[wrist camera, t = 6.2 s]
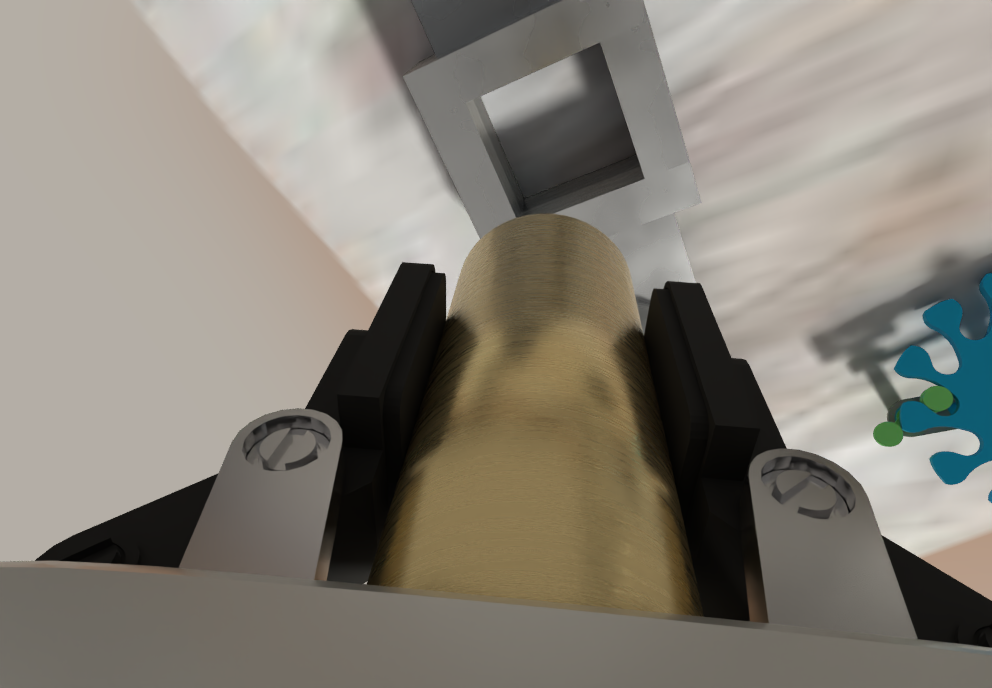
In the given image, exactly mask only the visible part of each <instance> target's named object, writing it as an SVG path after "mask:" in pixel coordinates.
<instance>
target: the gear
mask: <svg viewBox="0 0 992 688" xmlns="http://www.w3.org/2000/svg"><path fill="white" fill-rule="evenodd" d="M979 289H980V292H981V294H982V295H983V297H984V298H985V300H986V302H987V304H988V307H989V311H990V321H989V326H988V329H987V333H986V335H985V337H984V338H982V339H980V340H970V339H968V338H966V337H964V336H963V335H962V334H961V332H960V329H959V326H960V322H961V319H962V314H963V311H962V307H961V305H960V304H959V303H958V302H957V301H956V300H954V299H949V300H945V301H942V302H940V303H938V304H936V305H934V306H932V307H931V308H929V309H928V310H926V311H925V312H924V314H923V320H924V323H925V324H926V325H927V326H928V327H929V328H931V329H933V330H935V331H937V332H938V333H940V334H941V335H943V336H944V337H945V338H946V339H947V340H948V341H949V342H950V344H951V345H952V347H953V349H954V351H955V353H956V356H957V358H958V361H959V368H958V370H957V371H956V373H954V374H948V375H946V374H941V373H939V372H938V371H936V370H935V369H934V367H933V365H932V362H931V359H930V357H929V355H928V353H927V352H926V351H925V350H924V349H923V348H921V347H918V346H912V345H911V346H910V347H908V348H907V349H906V350H905V351H904V352H903V353H902V355H901V357H900V358H899V360H898V361H897V363H896V366H895V368H894V370H895V371H896V373H898V374H899V375H900V376H903V377H906V378H917V379H922V380H926V381H929V382H932V383H934V384H936V385H938V386H933V387H930V388H928V389H927V390H925V391H924V392H923V393H922V394H921V396H920V397H915V398H910V399H904V400H900V401H898V402H896V403H895V404H894V405H892V407H891V408H890V409H889V411H888V414H887V421H888V422H883V423H881V424H879V425H877V426H876V427H875V429H874V432H873V436H874V439H875V440H876V442H877V443H879V444H880V445H882V446H888V447H891V446H896V445H898V444H899V443H900V442H901V441H902V439H903V436H906V437H915V436H921V435H926V434H932V433H937V432H943V431H948V430H954V429H962V430H965V431H969V432H972V433H973V434H975V435H976V436H977V437H978V439H979V441H980V447H979V450H978V451H977V452H976V453H975V454H973V455H969V456H965V455H961V454H957V453H954V452H938V453H935V454H934V455H932V456H931V457H930V463H931V465H932V467H933V469H934V471H935V472H936V474H937V475H938V476H939V477H940V479H941V480H942V481H943V482H944V483H945V484H950V485H953V484H958V483H960V482H962V481H963V480H965V479H966V477H967V476H968V475H969V473H970V472H972V471H973V470H974V469H975V468H976V467H978V466H980V465H981V464H984V463H986V462H988V461H992V273H988V274H986V275H985V276H984V277H983V279H982V280H981V282H980V285H979ZM988 500H989V501H990V502H991V503H992V490H991V492H990V493H989V496H988Z"/></svg>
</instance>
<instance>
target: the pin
mask: <svg viewBox="0 0 992 688" xmlns="http://www.w3.org/2000/svg"><path fill="white" fill-rule="evenodd" d="M367 585H377V586H388V587H399V588H410V589H421V590H432V591H443V592H453V593H464V594H474V595H485V596H495V597H506V598H516V599H527V600H537V601H548V602H558V603H568V604H578V605H589V606H599V607H609V608H620V609H630V610H640V611H651V612H661V613H671V614H681V615H691V616H700V617H704V615H703V610H702V606H701V601H700V596H699V592H698V587H697V582H696V578H695V573H694V568H693V564H692V559H691V554H690V550H689V545H688V540H687V536H686V531H685V526H684V521H683V517H682V512H681V507H680V503H679V498H678V493H677V489H676V484H675V479H674V475H673V470H672V465H671V461H670V456H669V451H668V447H667V442H666V437H665V433H664V428H663V423H662V419H661V414H660V409H659V405H658V400H657V395H656V391H655V386H654V381H653V377H652V372H651V367H650V363H649V358H648V353H647V349H646V344H645V339H644V335H643V330H642V325H641V321H640V316H639V311H638V307H637V302H636V297H635V293H634V288H633V283H632V279H631V274H630V271H629V268H628V265H627V262H626V261H625V259H624V257H623V255H622V253H621V252H620V250H619V249H618V248H617V246H616V245H615V244H614V243H613V242H612V241H611V240H610V239H609V238H608V237H607V236H606V235H605V234H604V233H602V232H601V231H600V230H598V229H597V228H595V227H593V226H592V225H590V224H588V223H586V222H584V221H581V220H579V219H576V218H573V217H569V216H565V215H558V214H532V215H526V216H522V217H518V218H514V219H512V220H509V221H507V222H504V223H503V224H501V225H499V226H497V227H495V228H494V229H492V230H491V231H490V232H488V233H487V234H486V235H484V236H483V237H482V238H481V239H480V240H479V241H478V242H477V243H476V245H475V246H474V247H473V249H472V250H471V251H470V253H469V255H468V256H467V258H466V260H465V262H464V265H463V267H462V270H461V273H460V276H459V279H458V283H457V286H456V289H455V293H454V296H453V299H452V303H451V306H450V309H449V313H448V316H447V319H446V323H445V327H444V330H443V333H442V337H441V340H440V343H439V347H438V350H437V353H436V357H435V360H434V363H433V367H432V370H431V373H430V377H429V380H428V383H427V387H426V390H425V393H424V396H423V400H422V403H421V406H420V410H419V413H418V416H417V420H416V423H415V426H414V430H413V433H412V436H411V440H410V443H409V446H408V450H407V453H406V456H405V460H404V463H403V466H402V469H401V472H400V475H399V479H398V482H397V485H396V489H395V492H394V495H393V499H392V502H391V505H390V509H389V512H388V515H387V519H386V522H385V525H384V529H383V532H382V535H381V539H380V542H379V545H378V549H377V552H376V555H375V559H374V562H373V565H372V568H371V572H370V575H369V578H368V582H367Z"/></svg>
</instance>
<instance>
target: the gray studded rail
mask: <svg viewBox="0 0 992 688" xmlns="http://www.w3.org/2000/svg"><path fill="white" fill-rule="evenodd" d="M411 1H412V3H413V6H414V8H415V10H416V12H417V15H418V17H419V19H420V21H421V24H422V26H423V28H424V30H425V32H426V35H427V37H428V39H429V41H430V44H431V46H432V48H433V50H434V53H435V55H433V56H431V57H429V58H427V59H425V60H423V61H421V62H419V63H418V64H417V65H415V66H414V67H413V68H412V69H411V70H410V71H409V72H407V73H406V74H405V75H404V76H403V78H404V80H405V82H406V84H407V86H408V89H409V91H410V93H411V95H412V97H413V99H414V101H415V103H416V105H417V107H418V110H419V112H420V114H421V116H422V118H423V120H424V122H425V124H426V126H427V128H428V131H429V133H430V135H431V137H432V139H433V141H434V143H435V145H436V147H437V149H438V151H439V154H440V156H441V158H442V160H443V162H444V164H445V166H446V168H447V170H448V172H449V175H450V177H451V179H452V181H453V183H454V185H455V187H456V189H457V191H458V193H459V196H460V198H461V200H462V202H463V204H464V206H465V208H466V210H467V212H468V214H469V216H470V219H471V221H472V223H473V225H474V227H475V229H476V231H477V233H478V235H479V237H480V239H481V238H482V237H483V236H484V235H486V234H487V233H488V232H490V231H491V230H492V229H494V228H495V227H497V226H499V225H501V224H503V223H504V222H507V221H509V220H512V219H514V218H518V217H522V216H526V215H532V214H558V215H565V216H569V217H573V218H576V219H579V220H581V221H584V222H586V223H588V224H590V225H592V226H593V227H595V228H597V229H598V230H600V231H601V232H602V233H604V234H605V235H606V236H607V237H608V238H609V239H610V240H611V241H612V242H613V243H614V244H615V245H616V246H617V248H618V249H619V250H620V252H621V253H622V255H623V257H624V259H625V261H626V262H627V265H628V268H629V271H630V274H631V279H632V283H633V288H634V293H635V297H636V302H637V307H638V311H639V316H640V321H641V325H642V330H643V335H644V332H645V327H646V321H647V316H648V310H649V305H650V299H651V295H652V291H653V289H654V288H657V289H663V288H664V285H665V283H666V282H667V281H675V282H689V283H696V281H695V278H694V275H693V272H692V268H691V265H690V262H689V259H688V256H687V252H686V249H685V246H684V243H683V240H682V236H681V233H680V230H679V227H678V224H677V221H676V217H675V214H674V213H675V212H678V211H681V210H683V209H686V208H689V207H692V206H694V205H697V204H700V203H702V202H701V199H700V195H699V192H698V188H697V185H696V181H695V178H694V174H693V171H692V168H691V164H690V161H689V157H688V154H687V150H686V147H685V143H684V140H683V136H682V133H681V129H680V126H679V122H678V119H677V116H676V112H675V109H674V105H673V102H672V98H671V95H670V91H669V88H668V84H667V81H666V77H665V74H664V71H663V67H662V64H661V60H660V57H659V53H658V50H657V46H656V43H655V39H654V36H653V32H652V29H651V25H650V22H649V19H648V15H647V12H646V8H645V5H644V1H643V0H411ZM598 43H600V44H601V47H602V50H603V53H604V56H605V59H606V62H607V65H608V68H609V71H610V74H611V77H612V81H613V84H614V87H615V90H616V93H617V96H618V99H619V102H620V105H621V108H622V111H623V114H624V117H625V120H626V123H627V126H628V129H629V132H630V136H631V139H632V142H633V145H634V148H635V151H636V154H637V155H635V156H632V157H630V158H627V159H625V160H622V161H620V162H617V163H615V164H612V165H609V166H607V167H604V168H602V169H599V170H597V171H594V172H592V173H589V174H587V175H584V176H581V177H579V178H576V179H574V180H571V181H569V182H566V183H564V184H561V185H559V186H556V187H553V188H551V189H548V190H546V191H543V192H541V193H538V194H536V195H533V196H531V197H528V198H525V199H524V198H523V196H522V193H521V191H520V188H519V186H518V184H517V181H516V179H515V177H514V174H513V172H512V170H511V167H510V165H509V163H508V160H507V158H506V156H505V153H504V151H503V149H502V146H501V144H500V142H499V139H498V137H497V135H496V132H495V130H494V128H493V125H492V123H491V121H490V118H489V116H488V114H487V111H486V109H485V107H484V104H483V102H482V100H481V97H480V96H482V95H485V94H487V93H489V92H491V91H493V90H496V89H498V88H500V87H502V86H505V85H507V84H509V83H511V82H513V81H516V80H518V79H520V78H522V77H524V76H527V75H529V74H531V73H533V72H536V71H538V70H540V69H542V68H544V67H547V66H549V65H551V64H553V63H556V62H558V61H560V60H562V59H564V58H567V57H569V56H571V55H573V54H576V53H578V52H580V51H582V50H584V49H587V48H589V47H591V46H593V45H596V44H598Z"/></svg>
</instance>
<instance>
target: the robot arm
mask: <svg viewBox="0 0 992 688" xmlns="http://www.w3.org/2000/svg"><path fill="white" fill-rule="evenodd" d="M445 323H446V276H445V273H435V267H434V265H433V264H419V263H405V262H402V264H401V265H400V267H399V269H398V271H397V273H396V275H395V277H394V279H393V281H392V283H391V285H390V287H389V289H388V291H387V293H386V295H385V298H384V300H383V302H382V304H381V306H380V308H379V310H378V312H377V314H376V316H375V318H374V320H373V322H372V324H371V326H370V328H369V330H368V331H367V330H354V329H352V330H349V331H348V332H347V333H346V335H345V337H344V339H343V340H342V342H341V344H340V346H339V348H338V350H337V351H336V353H335V355H334V357H333V359H332V360H331V362H330V364H329V366H328V368H327V370H326V371H325V373H324V375H323V377H322V379H321V380H320V383H319V384H318V386H317V388H316V390H315V392H314V394H313V395H312V397H311V399H310V401H309V402H308V405H307V406H306V408H305V409H299V408H297V409H287V410H280V411H277V412H273V413H269V414H266V415H264V416H261V417H259V418H257V419H256V420H254V421H252V422H250V423H249V424H248V425H246V426H245V427H244V428H243V429H241V430H240V431H239V432H238V434H237V435H236V437H235V438H234V440H233V441H232V443H231V445H230V447H229V450H228V452H227V455H226V457H225V460H224V462H223V464H222V467H221V469H220V471H219V473H218V474H216V475H214V476H211V477H209V478H207V479H205V480H202V481H200V482H197V483H195V484H192V485H190V486H188V487H185V488H183V489H181V490H179V491H176V492H174V493H171V494H169V495H167V496H165V497H162V498H160V499H157V500H155V501H153V502H150V503H148V504H146V505H143V506H141V507H139V508H136V509H134V510H132V511H129V512H127V513H125V514H122V515H120V516H118V517H115V518H113V519H111V520H108V521H106V522H104V523H101V524H99V525H97V526H94V527H92V528H90V529H87V530H85V531H82V532H80V533H78V534H76V535H73V536H71V537H70V538H68V539H66V540H64V541H62V542H60V543H58V544H56V545H54V546H53V547H52V548H50V549H49V550H48V551H46V552H45V553H44V554H42V555H41V556H40V557H39V558H37V559H36V560H35V561H13V562H12V561H10V562H0V688H992V601H991V600H989V599H987V598H986V597H984V596H982V595H981V594H979V593H977V592H976V591H974V590H972V589H971V588H969V587H967V586H966V585H964V584H962V583H961V582H959V581H957V580H956V579H954V578H952V577H951V576H949V575H947V574H945V573H944V572H942V571H941V570H939V569H937V568H936V567H934V566H932V565H931V564H929V563H927V562H926V561H924V560H922V559H921V558H919V557H917V556H916V555H914V554H912V553H911V552H909V551H907V550H906V549H904V548H902V547H901V546H899V545H897V544H895V543H894V542H892V541H890V540H889V539H887V538H885V537H884V536H882V535H881V533H880V530H879V527H878V524H877V521H876V519H875V516H874V513H873V510H872V507H871V504H870V501H869V499H868V496H867V494H866V493H865V491H864V489H863V487H862V486H861V484H860V483H859V482H858V481H857V480H856V479H855V478H854V477H853V476H852V475H851V474H850V473H849V472H848V471H846V470H845V469H843V468H842V467H840V466H839V465H837V464H836V463H834V462H832V461H830V460H828V459H825V458H823V457H821V456H819V455H816V454H813V453H809V452H805V451H801V450H795V449H787V448H786V446H785V444H784V442H783V439H782V437H781V435H780V433H779V430H778V428H777V426H776V424H775V422H774V419H773V417H772V415H771V413H770V410H769V408H768V406H767V404H766V401H765V399H764V397H763V395H762V393H761V390H760V388H759V386H758V384H757V381H756V379H755V377H754V375H753V372H752V370H751V368H750V366H749V364H748V363H747V361H746V360H744V359H736V358H731V356H730V354H729V351H728V349H727V346H726V344H725V341H724V339H723V337H722V334H721V332H720V329H719V327H718V324H717V322H716V320H715V317H714V315H713V312H712V310H711V308H710V305H709V303H708V300H707V298H706V295H705V293H704V291H703V288H702V286H701V284H700V283H689V282H675V281H667V282H666V283H665V285H664V288H663V289H657V288H654V289H653V291H652V295H651V299H650V305H649V310H648V316H647V321H646V327H645V332H644V339H645V344H646V349H647V353H648V358H649V363H650V367H651V372H652V377H653V381H654V386H655V391H656V395H657V400H658V405H659V409H660V414H661V419H662V423H663V428H664V433H665V437H666V442H667V447H668V451H669V456H670V461H671V465H672V470H673V475H674V479H675V484H676V489H677V493H678V498H679V503H680V507H681V512H682V517H683V521H684V526H685V531H686V536H687V540H688V545H689V550H690V554H691V559H692V564H693V568H694V573H695V578H696V582H697V587H698V592H699V596H700V601H701V606H702V610H703V615H704V617H700V616H691V615H681V614H671V613H661V612H651V611H640V610H630V609H620V608H609V607H599V606H589V605H578V604H568V603H558V602H548V601H537V600H527V599H516V598H506V597H495V596H485V595H474V594H464V593H453V592H443V591H432V590H421V589H410V588H399V587H388V586H377V585H366V584H363V583H365V582H367V581H368V578H369V575H370V572H371V568H372V565H373V562H374V559H375V555H376V552H377V549H378V545H379V542H380V539H381V535H382V532H383V529H384V525H385V522H386V519H387V515H388V512H389V509H390V505H391V502H392V499H393V495H394V492H395V489H396V485H397V482H398V479H399V475H400V472H401V469H402V466H403V463H404V460H405V456H406V453H407V450H408V446H409V443H410V440H411V436H412V433H413V430H414V426H415V423H416V420H417V416H418V413H419V410H420V406H421V403H422V400H423V396H424V393H425V390H426V387H427V383H428V380H429V377H430V373H431V370H432V367H433V363H434V360H435V357H436V353H437V350H438V347H439V343H440V340H441V337H442V333H443V330H444V327H445Z"/></svg>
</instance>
